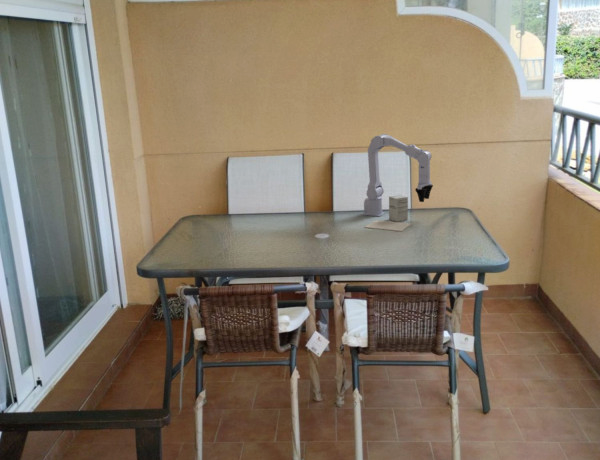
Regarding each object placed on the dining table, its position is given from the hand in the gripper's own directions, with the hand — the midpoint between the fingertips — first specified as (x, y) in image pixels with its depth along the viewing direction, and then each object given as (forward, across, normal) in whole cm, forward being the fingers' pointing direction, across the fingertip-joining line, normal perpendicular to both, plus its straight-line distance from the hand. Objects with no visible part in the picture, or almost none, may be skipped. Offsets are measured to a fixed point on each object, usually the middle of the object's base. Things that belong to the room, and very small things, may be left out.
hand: (424, 200), depth 315 cm
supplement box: (+10, -6, +12) cm, 17 cm away
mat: (+10, -20, +12) cm, 25 cm away
